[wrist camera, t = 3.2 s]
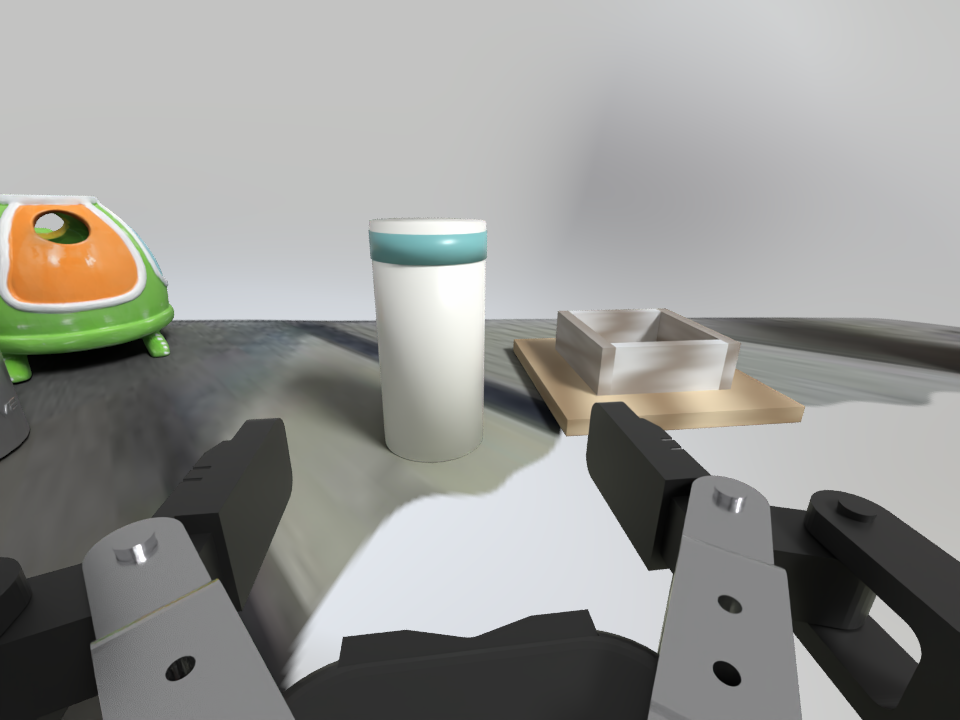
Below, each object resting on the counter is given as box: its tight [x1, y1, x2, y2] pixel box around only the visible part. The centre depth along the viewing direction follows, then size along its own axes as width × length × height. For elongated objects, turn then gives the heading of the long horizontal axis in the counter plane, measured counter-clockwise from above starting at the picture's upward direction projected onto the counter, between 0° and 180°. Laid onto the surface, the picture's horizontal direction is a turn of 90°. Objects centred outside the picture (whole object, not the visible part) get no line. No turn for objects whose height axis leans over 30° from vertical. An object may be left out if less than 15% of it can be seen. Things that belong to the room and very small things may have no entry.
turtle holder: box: [0, 194, 174, 383], centre depth 34 cm, size 12×18×12 cm
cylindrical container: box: [369, 218, 487, 462], centre depth 22 cm, size 5×5×11 cm
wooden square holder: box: [513, 309, 805, 436], centre depth 30 cm, size 14×14×4 cm
